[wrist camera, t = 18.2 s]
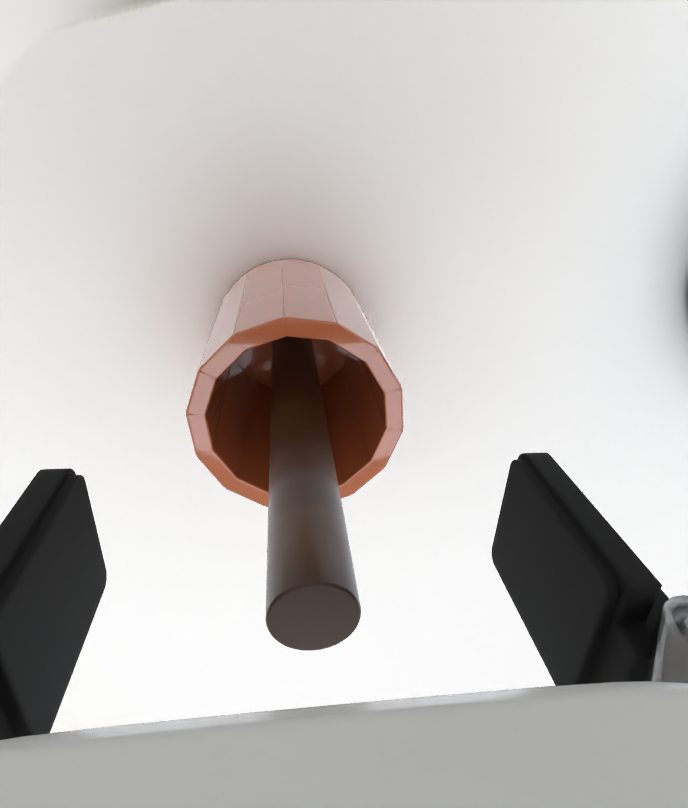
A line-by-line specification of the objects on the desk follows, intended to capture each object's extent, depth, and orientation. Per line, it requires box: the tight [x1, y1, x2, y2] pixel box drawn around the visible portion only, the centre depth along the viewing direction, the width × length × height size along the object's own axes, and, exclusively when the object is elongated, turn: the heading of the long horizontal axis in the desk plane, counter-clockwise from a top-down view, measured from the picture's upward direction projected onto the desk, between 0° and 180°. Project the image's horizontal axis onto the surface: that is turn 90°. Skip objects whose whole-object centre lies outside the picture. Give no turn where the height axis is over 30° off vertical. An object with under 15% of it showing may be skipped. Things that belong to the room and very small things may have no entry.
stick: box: [266, 336, 361, 650], centre depth 17 cm, size 2×2×16 cm
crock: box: [186, 259, 403, 507], centre depth 20 cm, size 7×7×9 cm
